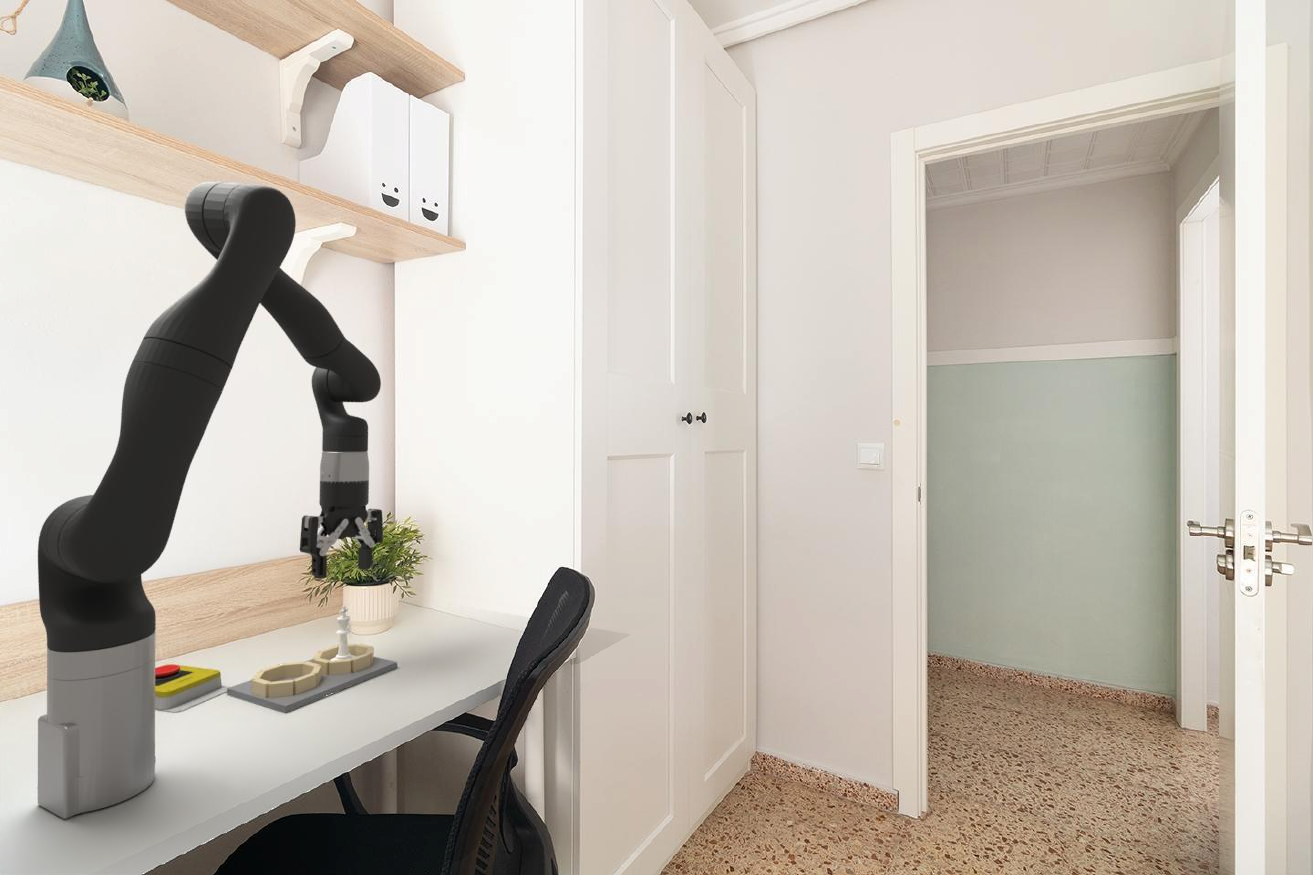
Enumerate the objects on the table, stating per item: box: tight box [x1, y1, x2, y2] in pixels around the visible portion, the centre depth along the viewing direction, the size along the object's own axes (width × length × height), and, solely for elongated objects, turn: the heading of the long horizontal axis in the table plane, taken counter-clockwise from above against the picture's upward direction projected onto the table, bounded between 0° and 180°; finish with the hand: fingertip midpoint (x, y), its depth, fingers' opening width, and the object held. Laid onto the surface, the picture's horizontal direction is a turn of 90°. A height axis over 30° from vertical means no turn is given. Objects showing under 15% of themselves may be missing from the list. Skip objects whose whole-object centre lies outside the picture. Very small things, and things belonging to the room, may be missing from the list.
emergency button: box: [155, 663, 230, 714], centre depth 98 cm, size 9×4×15 cm
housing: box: [226, 643, 398, 714], centre depth 104 cm, size 20×14×3 cm
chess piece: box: [330, 605, 356, 661], centre depth 108 cm, size 5×5×10 cm
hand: (343, 573), depth 108 cm, fingers open, 8 cm apart
